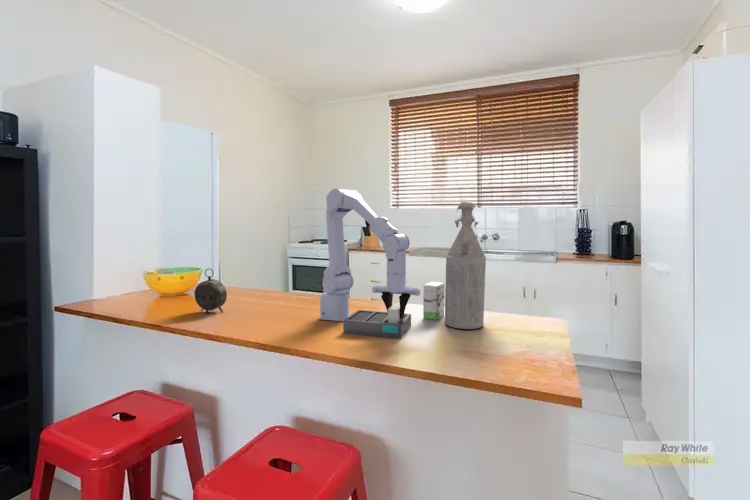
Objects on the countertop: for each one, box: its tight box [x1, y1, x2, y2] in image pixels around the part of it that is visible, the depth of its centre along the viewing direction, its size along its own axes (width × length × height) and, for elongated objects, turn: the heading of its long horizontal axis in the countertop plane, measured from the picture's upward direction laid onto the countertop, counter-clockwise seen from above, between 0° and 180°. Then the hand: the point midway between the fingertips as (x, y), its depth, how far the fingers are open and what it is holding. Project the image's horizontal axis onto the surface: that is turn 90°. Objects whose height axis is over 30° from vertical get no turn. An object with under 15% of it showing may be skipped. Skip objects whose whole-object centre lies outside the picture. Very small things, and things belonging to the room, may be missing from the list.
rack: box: [342, 309, 412, 340], centre depth 121 cm, size 18×13×4 cm
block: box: [388, 302, 404, 324], centre depth 120 cm, size 3×8×6 cm, turn 162°
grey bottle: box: [444, 201, 487, 330], centre depth 126 cm, size 13×17×40 cm
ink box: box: [422, 280, 446, 321], centre depth 136 cm, size 9×5×12 cm, turn 151°
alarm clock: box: [194, 268, 228, 314], centre depth 142 cm, size 11×5×16 cm, turn 76°
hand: (395, 317), depth 119 cm, fingers closed on block, 3 cm apart
